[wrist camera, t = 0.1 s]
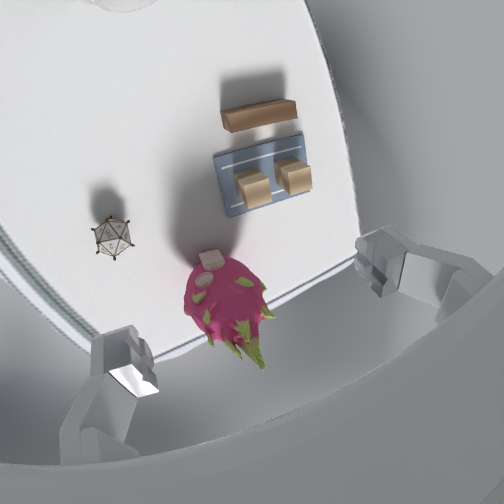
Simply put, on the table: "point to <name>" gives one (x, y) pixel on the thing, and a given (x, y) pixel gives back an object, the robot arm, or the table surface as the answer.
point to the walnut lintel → (258, 114)
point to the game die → (112, 237)
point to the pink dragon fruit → (227, 303)
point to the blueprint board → (259, 159)
